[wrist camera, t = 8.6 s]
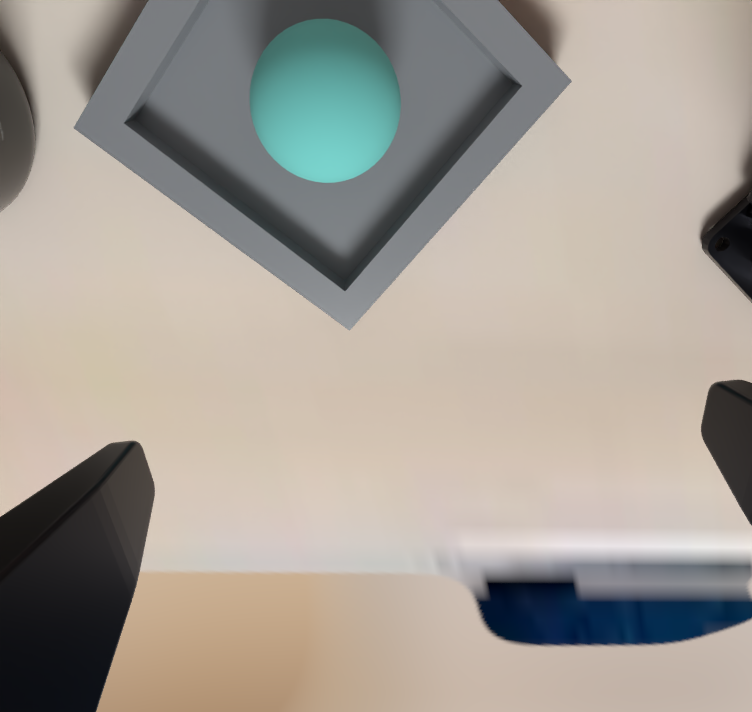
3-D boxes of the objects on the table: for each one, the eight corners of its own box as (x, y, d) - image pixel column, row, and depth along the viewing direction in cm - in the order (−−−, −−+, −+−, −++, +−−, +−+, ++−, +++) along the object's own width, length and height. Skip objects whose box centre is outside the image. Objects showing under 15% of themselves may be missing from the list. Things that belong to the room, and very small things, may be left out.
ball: (419, 91, 17) (445, 99, 14) (335, 196, 19) (340, 228, 15) (312, -12, 16) (310, -32, 12) (229, 109, 17) (206, 122, 14)
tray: (553, 79, 18) (571, 81, 17) (348, 312, 21) (349, 330, 20) (290, -205, 15) (285, -233, 13) (94, 122, 18) (73, 127, 16)
